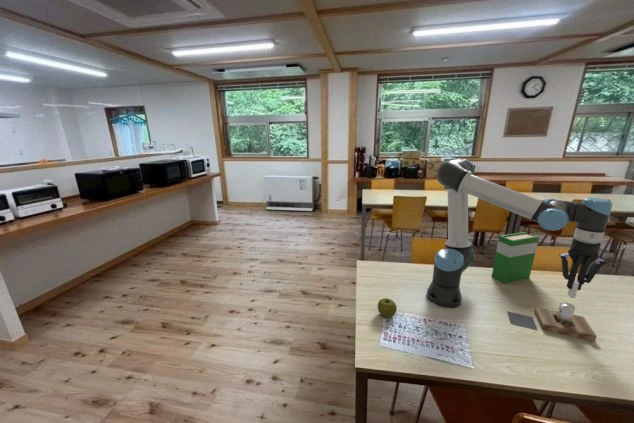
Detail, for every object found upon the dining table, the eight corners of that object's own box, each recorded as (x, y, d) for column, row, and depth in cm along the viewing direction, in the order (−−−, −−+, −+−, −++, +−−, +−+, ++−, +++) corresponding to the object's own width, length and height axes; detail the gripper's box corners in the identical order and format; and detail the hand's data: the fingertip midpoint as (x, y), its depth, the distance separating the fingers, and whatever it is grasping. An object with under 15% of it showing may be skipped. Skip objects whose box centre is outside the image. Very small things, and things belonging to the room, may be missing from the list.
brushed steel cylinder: (556, 328, 110) (562, 307, 107) (552, 321, 113) (558, 300, 110) (570, 331, 108) (577, 309, 105) (566, 324, 112) (572, 303, 109)
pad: (510, 324, 112) (510, 323, 112) (506, 312, 120) (507, 311, 119) (537, 331, 108) (537, 330, 108) (532, 317, 116) (532, 316, 116)
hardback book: (516, 271, 153) (524, 231, 146) (529, 278, 146) (539, 236, 140) (491, 276, 148) (499, 235, 142) (503, 283, 142) (512, 240, 135)
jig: (541, 329, 109) (543, 323, 108) (533, 312, 119) (535, 306, 118) (594, 342, 102) (596, 336, 101) (581, 322, 112) (583, 316, 111)
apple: (379, 308, 123) (380, 294, 121) (397, 312, 120) (398, 298, 118) (375, 318, 117) (376, 303, 115) (394, 323, 114) (395, 308, 112)
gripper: (567, 241, 99) (553, 297, 106) (616, 246, 94) (597, 305, 100) (560, 234, 106) (547, 287, 112) (605, 239, 100) (589, 295, 107)
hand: (571, 296), depth 106 cm, fingers closed
